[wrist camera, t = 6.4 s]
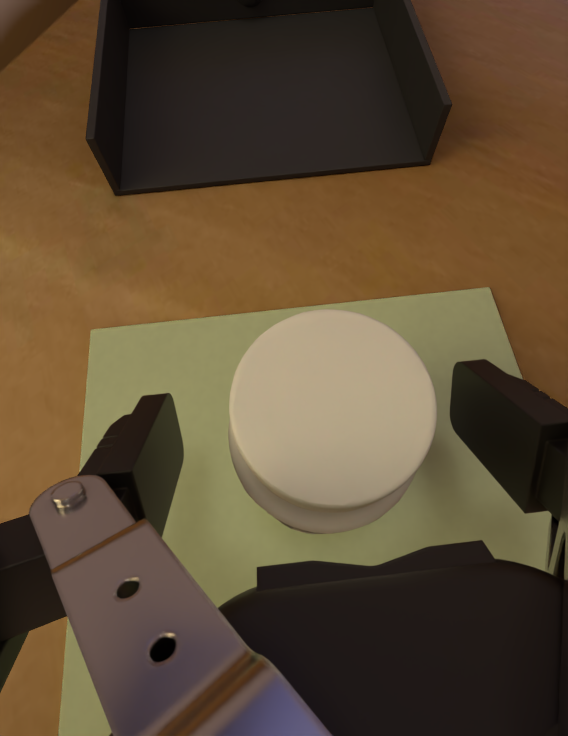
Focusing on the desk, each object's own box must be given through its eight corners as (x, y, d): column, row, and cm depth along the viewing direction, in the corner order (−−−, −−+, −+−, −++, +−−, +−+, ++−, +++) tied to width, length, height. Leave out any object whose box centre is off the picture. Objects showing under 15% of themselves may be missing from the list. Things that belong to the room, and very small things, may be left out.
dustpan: (429, 164, 22) (452, 104, 18) (115, 195, 21) (85, 139, 18) (360, -39, 29) (368, -106, 26) (128, -20, 29) (109, -85, 26)
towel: (917, 1496, 8) (938, 1530, 8) (-10, 1667, 7) (-22, 1712, 7) (486, 290, 18) (489, 286, 18) (93, 332, 18) (90, 329, 18)
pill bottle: (397, 448, 16) (502, 362, 8) (335, 561, 14) (389, 596, 6) (293, 385, 17) (294, 256, 9) (226, 485, 15) (156, 435, 7)
